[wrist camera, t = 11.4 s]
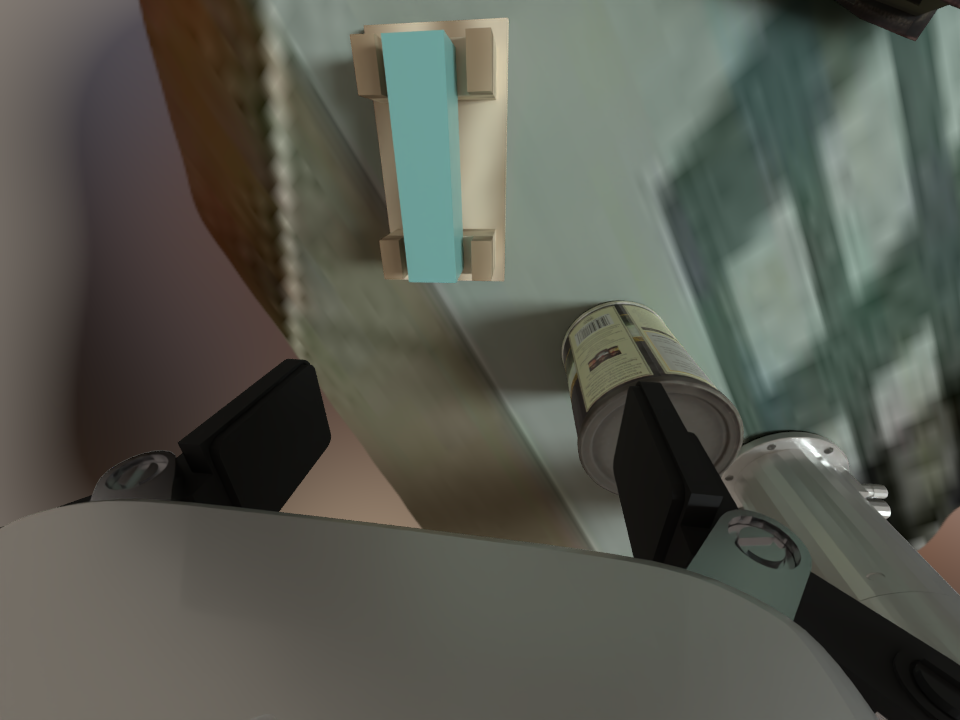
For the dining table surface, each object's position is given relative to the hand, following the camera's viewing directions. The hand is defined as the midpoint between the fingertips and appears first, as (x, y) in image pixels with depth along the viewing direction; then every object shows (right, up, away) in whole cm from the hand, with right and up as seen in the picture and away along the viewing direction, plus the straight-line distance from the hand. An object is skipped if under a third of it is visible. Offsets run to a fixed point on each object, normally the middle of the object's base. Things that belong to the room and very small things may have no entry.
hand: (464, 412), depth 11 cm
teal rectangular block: (-3, +15, +16) cm, 22 cm away
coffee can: (+14, +3, +26) cm, 30 cm away
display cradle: (-2, +17, +20) cm, 26 cm away
